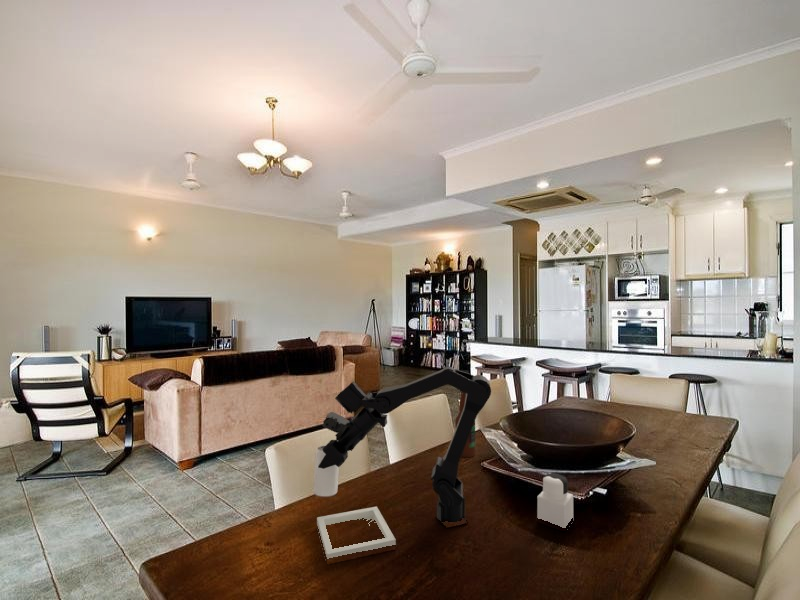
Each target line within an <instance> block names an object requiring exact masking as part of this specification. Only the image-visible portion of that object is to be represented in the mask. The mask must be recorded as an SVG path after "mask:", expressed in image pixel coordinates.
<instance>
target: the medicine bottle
mask: <svg viewBox="0 0 800 600" xmlns="http://www.w3.org/2000/svg"><path fill="white" fill-rule="evenodd" d="M568 482H569V481H568V479H567V478H566V477H565V476H564V475H561V474H558V473H546V474H544V476H543V477H542V491H541V492H540V493H539V494H538V495H537V497H536V502H537V503H536V519H537V518H538V519H542V520H544V521H548V522H550V523H552V524H555V525H558V526H560V527H562V528H566V526H567V525H568V523H569V522H570V521H571V519H572V518H573V519H574V494H572V493H569V491H568V489H569V486H568V485H569V483H568Z"/></svg>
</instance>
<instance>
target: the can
mask: <svg viewBox="0 0 800 600" xmlns="http://www.w3.org/2000/svg"><path fill="white" fill-rule="evenodd" d="M325 446H326V445H321V446H318V447H317V451H316V452H315V459H314V478H313V494H314V496H316V497H321V498H328V497H329V498H330V497H333V496H335V495H336V494H337V493H338V487H339V470H340V469H339V468H340V467H338V466H336V465H333V466H330V467H327V468H324V469H322V468H318V466H319V464H320V463H321V461H322V460H323V458H324V456H325V455H326V454H325V453H324V452H323V448H324V447H325Z"/></svg>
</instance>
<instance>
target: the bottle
mask: <svg viewBox="0 0 800 600" xmlns="http://www.w3.org/2000/svg"><path fill="white" fill-rule="evenodd" d="M465 398H466V393H464V392H462V391H460V398H459V399H460V400H459V409H458V410H459V411H458V414H457V416H456V418H455V428H456V427H457V424H458V421H459V419H460V416H461V413H462V411H463V408H464V404H465ZM475 455H476V421H475V422H474V425H473V427H472V430H471V432H470V435H469V438H468V440H467V443H466V446H465V448H464V451H463V453H462V456H461V458H473V457H474V456H475Z"/></svg>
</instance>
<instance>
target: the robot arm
mask: <svg viewBox="0 0 800 600" xmlns="http://www.w3.org/2000/svg"><path fill="white" fill-rule="evenodd" d="M448 385H449V386H451V387H453V388H456V390H458V391H460V392H461V391H462V392H464V393H466V398H465V404H464V408H463V411H462V413H461V416H460V419H459V421H458V424H457V427H456V426H455V429H454V433H453V434H452V437H451V440H450V442H449V446H448V448H447V451H446V453H445V454H444V456H443V457H441V456H439V455H438V456H437V458H436V463H435V465H434V467H432V471H431V478H430V480H432V483H431V484H432V485H431V486H432V489H433V492H434V493H436V494H437V495H438V502H437V503H436V514H437V517H436V518H437V519H438V521H439V520H440V521H441V522H445V521H448V522H457V521H461V520H462V518H465V519H466V497H465V496H464V483H463V481H461V480H460V479H459V478H458V477H457V476H458V475H457V474H458V471H459V470H458V469H459V463H460V462H461V461H460V460H461V458H462V457H461V456H462V453H463V451H464V448H465V446H466V443H467V440H468V438H469V435H470V432H471V430H472V427H473V425H474V422H475V423H476V419H477V416H478V414H479V413H480V412H481V411H482V410H483V408H484V407H485V405H486V404H487V402H488V400H490V399H489V398H490V397H491V394H492V388H491V385H490V381H489V380H488V378H487V377H486V376H484V375H480V374H476V375H473V374H471V373H469V372H465V371H462V370H459V369H456V368H454V367H452V366H445V367H444V368H443V369H442V368H441V370H437V371H435V372H433V373H430V374H428V375H425V376H423V377H420V378H418V379H416V380H414V381H413V380H412V381H411V382H408V383H406V384H401V385H392V386H387V387H383V388H382V389H380V390H379V391H375V392H374V391H373V392H368V393H367V394H366V393H365V392H364V391H363V390H362V389H361V388H360V387H359V386H358V384H357V383H356V381H352V382H350V384H348V386H346V387H345V388H344V389H342V390H341V391H340V392H339V393H338V394H337V395H336V396H335V398H334V399H335V401H336V402H338V403H339V404H340V406H341V407H342V408H343V409H345V411H346V412H347V413H348V414H349V413H350V414H353V413H354V414H355V413H357V411H358V410H359V409H360V410H359V412H358V413H357V414H356V415H354V417H351V418H350V419H349V420H348V419H347V418H346V417H344V416H342V415H340V414H338V413H336V412H335V411H330V412H329V413H328V414H327V415H326V417H325V419H324V420H323V422H322V427H323V428H324V429H327V430H329V431H331V432H334V433H335V435H334V436H335V437H336V438H335V439H331V440H329V441H328V443H326V445H324V446H325V447H324V448H323V452H324V453H325V454H326V455H325V456H324V458H323V460H322V461H321V463H320V464H319V466H318V468H322V469H324V468H327V467H330V466H333V465H336V466H338V467H339V468H340V467H341V466H342V465H343V464H344V463H345V462H346V460H347V459H348V457H349V452H350V451H351V452H352V451H353V450H354V448H356V446H357V445H358V444H359V443H360V442H361V441H363V440H364V439H365V437H366V436H367V435H368V434H369V433H370V432H371V431H372V430H373V429H374V428H375V427H376V426H377V425H378V424H379V425H380V426H382V428H385V427H386V426H387V424H388V414H389V413H391V412H393V411H394V410H395V409H397V408H399V407H400V406H402V405H403V404H405V403H406V402H408V401H409V400H411V399H414V398H416V397H419V396H421V395H424V394H426V393H429V392H431V391H434V390H436V389H439V388H441V387H444V386H448ZM361 407H362V409H361ZM440 521H439V522H440ZM441 522H440V523H441Z"/></svg>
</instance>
